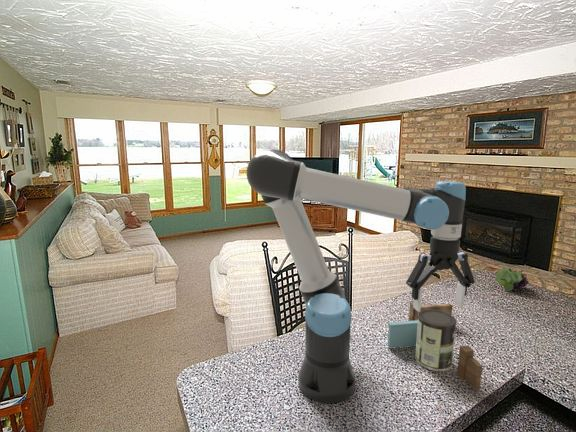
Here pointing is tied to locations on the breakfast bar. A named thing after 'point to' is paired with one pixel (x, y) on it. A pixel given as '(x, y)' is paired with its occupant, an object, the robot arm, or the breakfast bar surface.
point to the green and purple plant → (511, 279)
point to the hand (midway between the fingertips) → (437, 307)
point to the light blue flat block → (402, 334)
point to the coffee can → (435, 339)
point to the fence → (466, 363)
